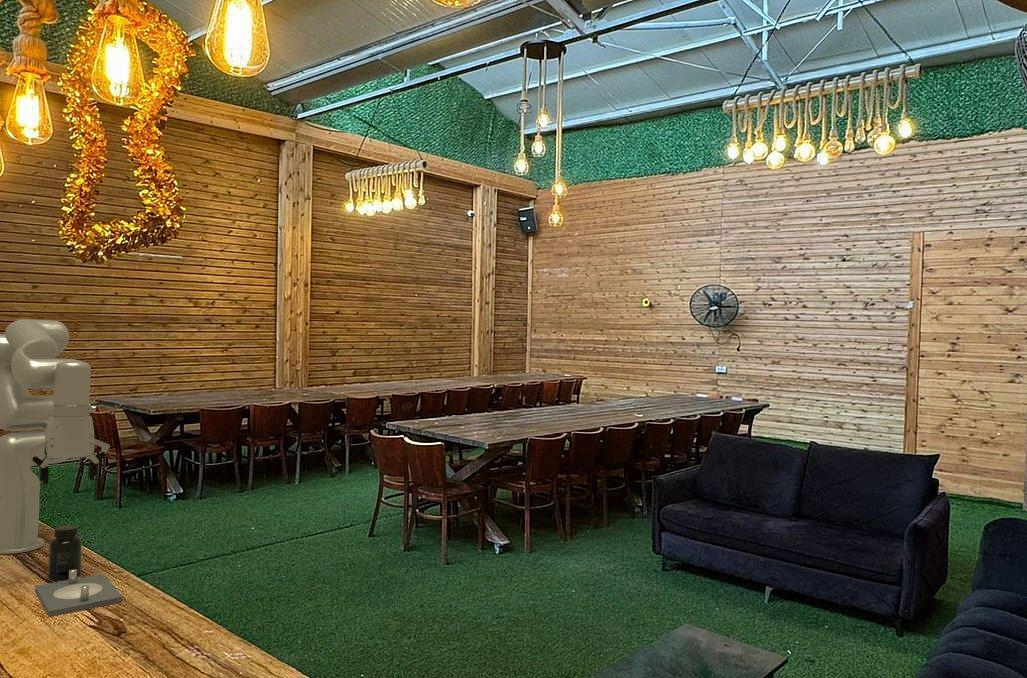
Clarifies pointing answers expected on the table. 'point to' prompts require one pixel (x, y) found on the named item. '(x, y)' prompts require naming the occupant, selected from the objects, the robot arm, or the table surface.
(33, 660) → the table surface
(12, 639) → the table surface
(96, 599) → the board
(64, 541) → the supplement bottle
